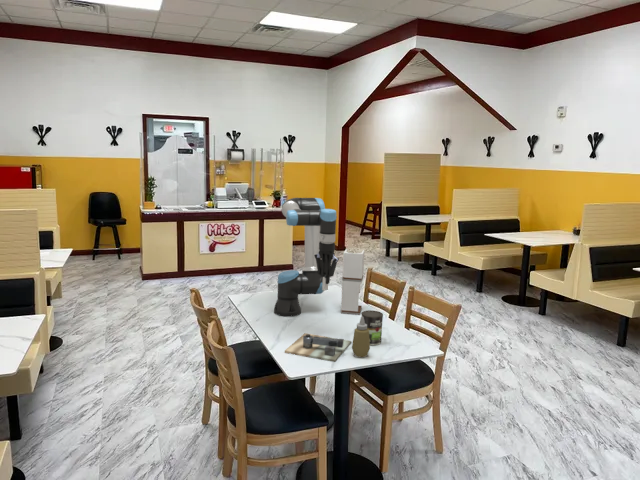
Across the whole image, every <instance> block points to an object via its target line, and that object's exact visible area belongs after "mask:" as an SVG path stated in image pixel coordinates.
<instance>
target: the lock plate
mask: <svg viewBox="0 0 640 480" xmlns="http://www.w3.org/2000/svg"><path fill="white" fill-rule="evenodd" d="M305 335H306V337H310V335H311V336H313V337H314V336H316V337H325V338H332V337H330V336H323V335H318V334H311V333H308V332H307V333H306V332H305V333H303V334H301V336H300V337H298V338H297V339H296V340H295V341H294V342H293V343H292V344H291V345H289V346H288V347H287V348H285V350H284V354H289V353H291V354H290V355H294V354H295V355H294V356H301V357H304V358H305V357H306V358H310V359H317V360H321V361H322V360H323V361H327V362H332V363H335V362H337V361H338V360H339V358H340V357H341V356H342V354H343V353H344V352H345V351H346V350H347V349H348V348H349V346H350V345H352V340H348V339H344V344H343V347H342V348H340V347H334V346H325V345H316V344H313V347H312V348H304V347H303V336H305ZM333 338H334V339H338V337H337V338H336V337H333Z"/></svg>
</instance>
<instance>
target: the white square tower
mask: <svg viewBox="0 0 640 480" xmlns="http://www.w3.org/2000/svg"><path fill="white" fill-rule="evenodd" d="M342 254H343V255H342V256H343V257H342V259H343V260H342V279H341V281H342V282H341V301H340V302H341V303H340V304H341V305H340V306H341V307H340V314H342V315H355V316H361V313H362V310H363V309H362V307H363V306H362V305H359V299H360V293H361V285H362V284H363V281H364V269H365V268H364V267H365V250H364V249H363V250H362V251H361V252H355V253H354V252H348V248H346V249H345V250H344V251H343V253H342Z"/></svg>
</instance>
